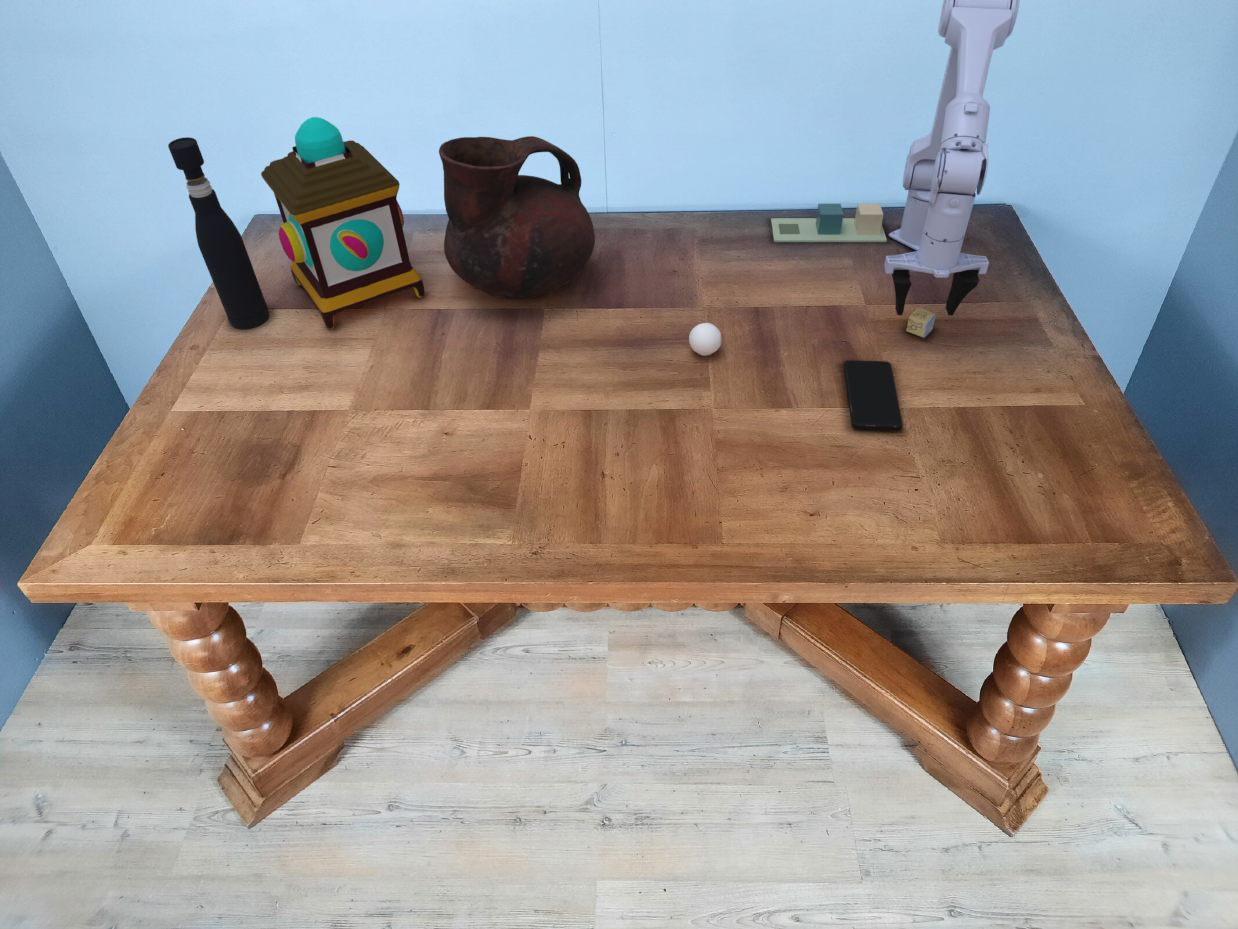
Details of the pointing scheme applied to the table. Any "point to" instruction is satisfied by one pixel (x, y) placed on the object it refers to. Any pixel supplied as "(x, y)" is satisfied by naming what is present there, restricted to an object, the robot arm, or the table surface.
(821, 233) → the teal cube
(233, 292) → the wine bottle
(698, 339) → the white ping pong ball
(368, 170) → the decorative lantern
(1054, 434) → the table surface
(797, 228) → the word mat
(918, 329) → the alphabet block
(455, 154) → the jug
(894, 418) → the smartphone
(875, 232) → the beige cube block
